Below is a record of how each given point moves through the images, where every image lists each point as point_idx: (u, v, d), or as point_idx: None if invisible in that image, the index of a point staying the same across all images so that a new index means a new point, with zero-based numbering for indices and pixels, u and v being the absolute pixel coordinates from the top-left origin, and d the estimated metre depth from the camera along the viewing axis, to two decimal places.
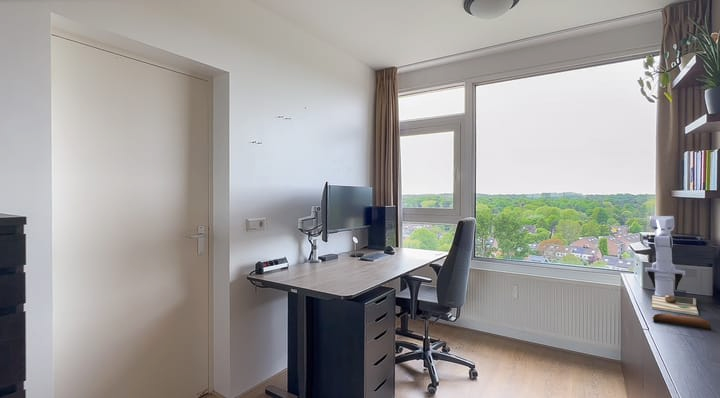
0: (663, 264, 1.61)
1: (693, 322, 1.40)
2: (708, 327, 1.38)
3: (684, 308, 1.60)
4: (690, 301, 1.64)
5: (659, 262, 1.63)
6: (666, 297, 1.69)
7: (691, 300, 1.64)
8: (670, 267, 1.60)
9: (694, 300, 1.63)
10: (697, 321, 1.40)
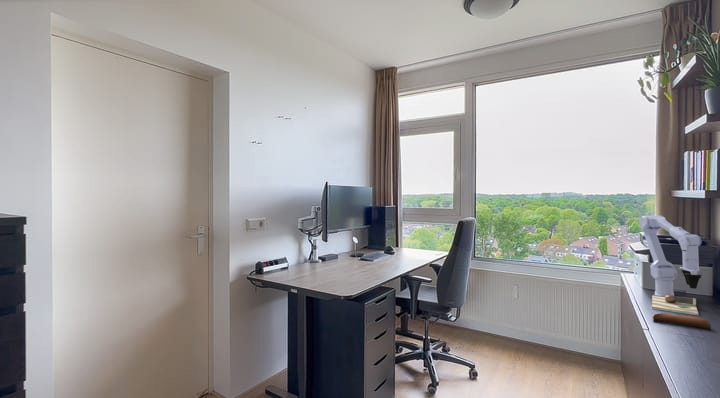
0: None
1: (693, 322, 1.40)
2: (708, 327, 1.38)
3: (684, 308, 1.60)
4: (690, 301, 1.64)
5: None
6: (666, 297, 1.69)
7: (691, 300, 1.64)
8: (686, 265, 1.66)
9: (694, 300, 1.63)
10: (697, 321, 1.40)
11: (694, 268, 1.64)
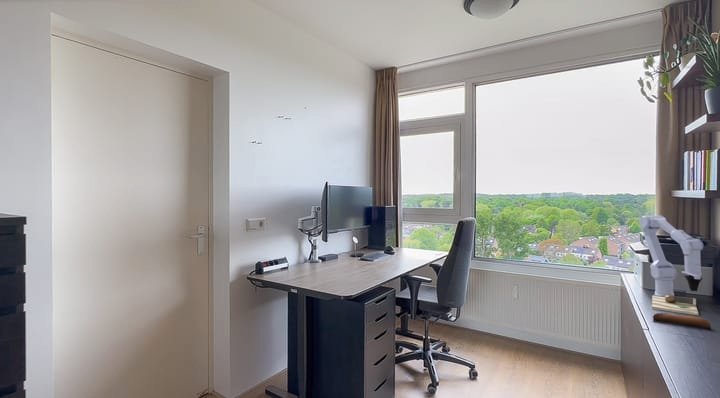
0: None
1: (693, 322, 1.41)
2: (708, 326, 1.38)
3: (684, 308, 1.60)
4: (690, 301, 1.64)
5: None
6: (666, 297, 1.69)
7: (691, 300, 1.64)
8: (689, 269, 1.66)
9: (694, 300, 1.63)
10: (697, 321, 1.40)
11: (697, 272, 1.65)
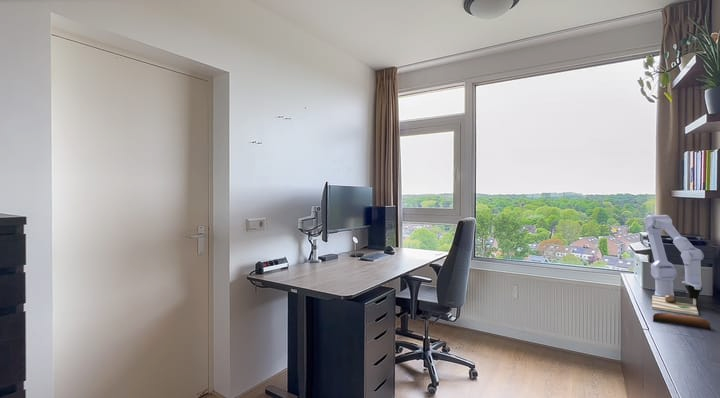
0: (685, 275, 1.69)
1: (693, 321, 1.41)
2: (707, 326, 1.38)
3: (684, 308, 1.60)
4: (690, 301, 1.64)
5: None
6: (666, 297, 1.69)
7: (691, 300, 1.64)
8: (689, 279, 1.66)
9: (694, 300, 1.63)
10: (696, 320, 1.41)
11: (697, 283, 1.65)
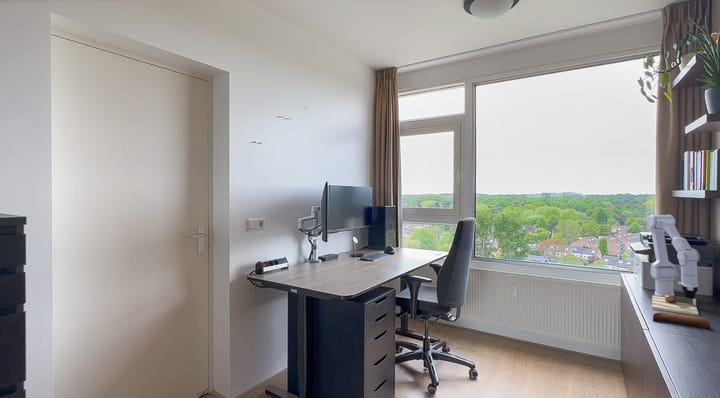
0: (681, 276, 1.68)
1: (693, 321, 1.41)
2: (707, 326, 1.38)
3: (684, 308, 1.60)
4: (690, 301, 1.64)
5: None
6: (666, 297, 1.69)
7: (691, 300, 1.64)
8: (684, 280, 1.65)
9: (694, 300, 1.63)
10: (696, 320, 1.41)
11: (692, 284, 1.63)
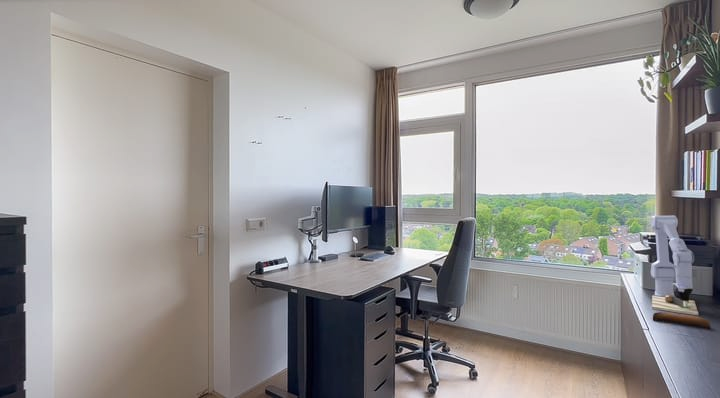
0: None
1: (692, 321, 1.42)
2: (707, 326, 1.39)
3: (684, 308, 1.60)
4: (681, 303, 1.62)
5: None
6: None
7: (682, 302, 1.62)
8: (678, 281, 1.64)
9: (684, 302, 1.61)
10: (696, 320, 1.41)
11: (685, 285, 1.61)
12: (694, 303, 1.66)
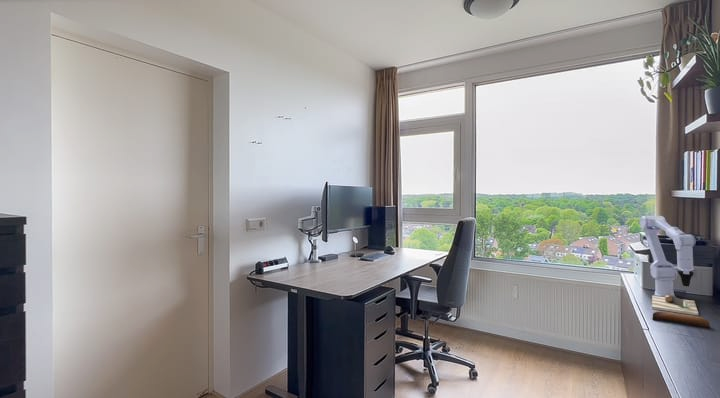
0: (677, 260, 1.70)
1: (692, 320, 1.42)
2: (707, 326, 1.39)
3: (684, 308, 1.60)
4: (681, 303, 1.62)
5: None
6: None
7: (682, 302, 1.62)
8: (680, 264, 1.68)
9: (684, 302, 1.61)
10: (696, 320, 1.42)
11: (688, 268, 1.66)
12: (694, 303, 1.66)
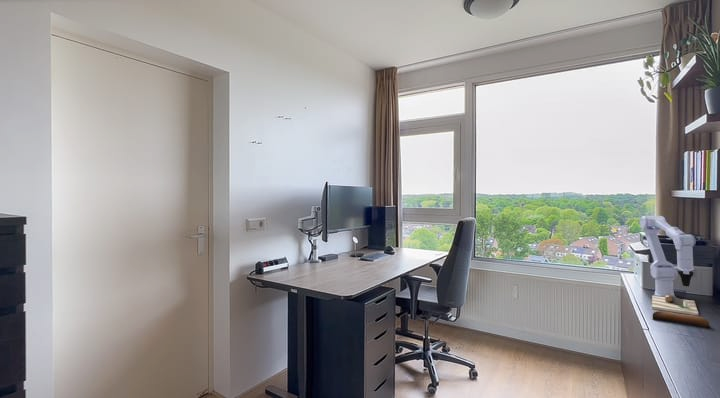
0: (677, 260, 1.70)
1: (692, 320, 1.42)
2: (707, 325, 1.39)
3: (684, 308, 1.60)
4: (681, 303, 1.62)
5: None
6: None
7: (682, 302, 1.62)
8: (680, 264, 1.68)
9: (684, 302, 1.61)
10: (696, 319, 1.42)
11: (688, 268, 1.66)
12: (694, 303, 1.66)
